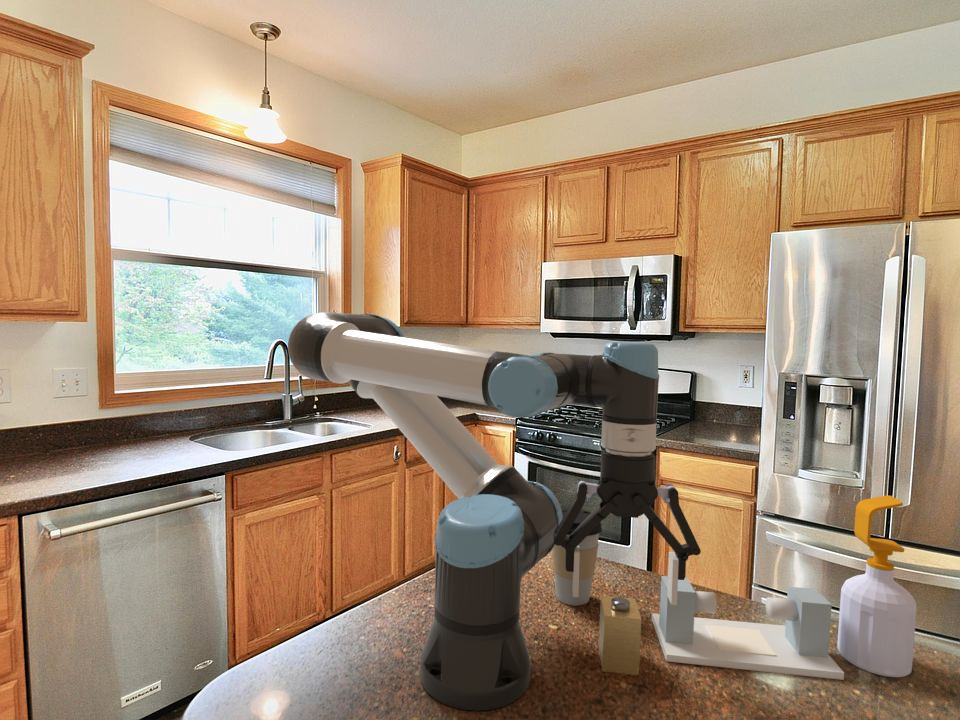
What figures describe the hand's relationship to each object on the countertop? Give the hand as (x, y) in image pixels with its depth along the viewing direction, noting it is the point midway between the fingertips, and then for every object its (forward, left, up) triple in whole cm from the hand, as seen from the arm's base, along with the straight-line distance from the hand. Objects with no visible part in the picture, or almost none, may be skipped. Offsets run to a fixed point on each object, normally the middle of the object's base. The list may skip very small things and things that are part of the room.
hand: (623, 596), depth 80 cm
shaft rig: (+19, +7, -10) cm, 22 cm away
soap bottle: (+38, +7, -10) cm, 40 cm away
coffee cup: (-6, +18, -10) cm, 22 cm away
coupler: (0, 0, -10) cm, 10 cm away
